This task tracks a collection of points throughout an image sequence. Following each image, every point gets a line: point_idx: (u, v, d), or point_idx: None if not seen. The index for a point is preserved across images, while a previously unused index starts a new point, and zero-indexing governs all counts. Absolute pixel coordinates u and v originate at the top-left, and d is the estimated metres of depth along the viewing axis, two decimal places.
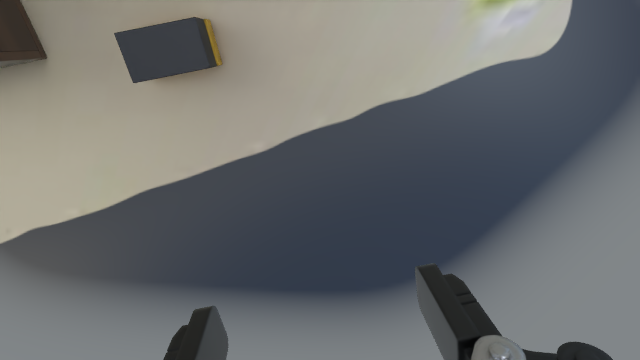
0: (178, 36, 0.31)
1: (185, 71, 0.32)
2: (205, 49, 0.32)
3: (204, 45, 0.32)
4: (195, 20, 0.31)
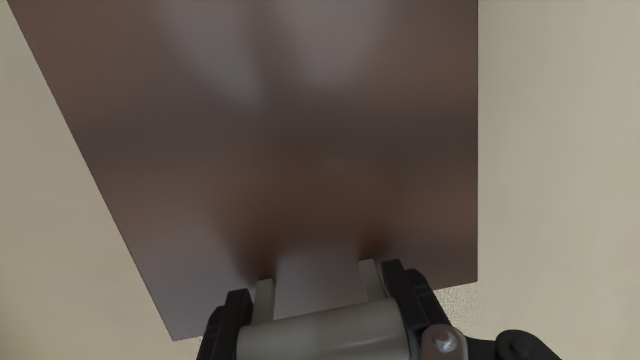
0: None
1: None
2: None
3: None
4: None
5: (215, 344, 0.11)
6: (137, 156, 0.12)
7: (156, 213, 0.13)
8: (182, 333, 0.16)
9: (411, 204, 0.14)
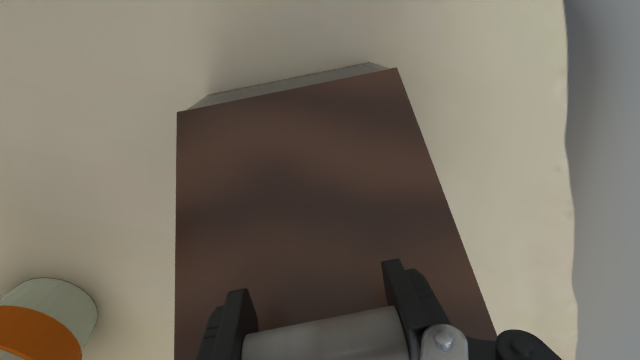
0: None
1: None
2: None
3: None
4: None
5: (215, 344, 0.11)
6: (209, 228, 0.18)
7: (207, 273, 0.17)
8: None
9: None
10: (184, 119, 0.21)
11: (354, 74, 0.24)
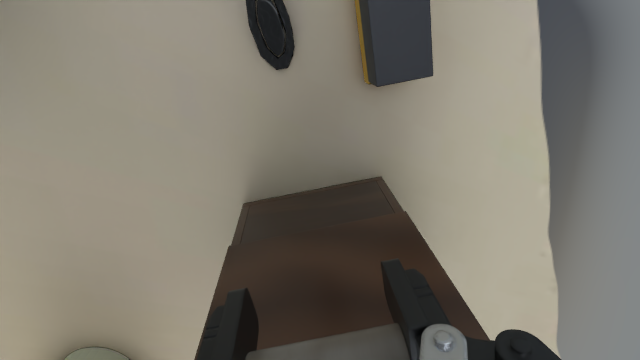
0: (386, 4, 0.24)
1: (428, 2, 0.24)
2: None
3: None
4: None
5: (215, 344, 0.11)
6: None
7: None
8: None
9: None
10: (233, 249, 0.26)
11: (370, 207, 0.29)
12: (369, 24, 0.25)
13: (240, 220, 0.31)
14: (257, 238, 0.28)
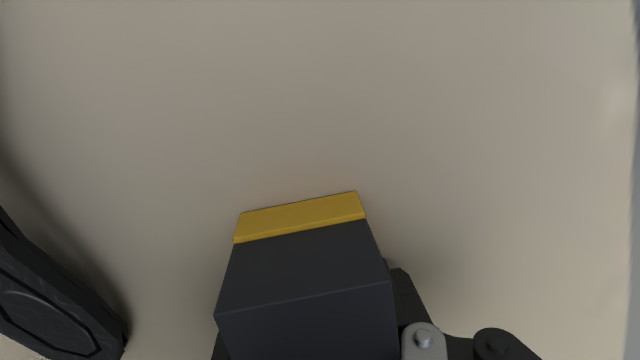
0: None
1: (396, 350, 0.09)
2: (323, 285, 0.09)
3: (309, 287, 0.09)
4: (224, 314, 0.08)
5: None
6: None
7: None
8: None
9: None
10: None
11: None
12: None
13: None
14: None
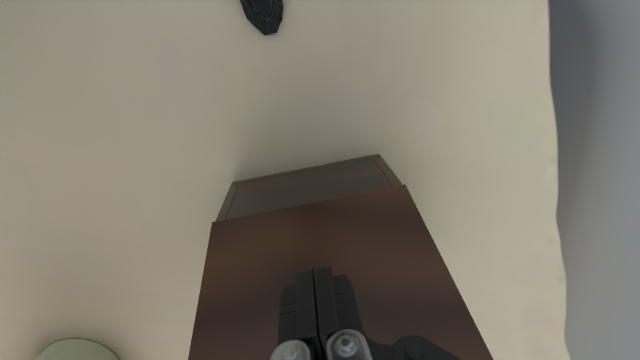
0: None
1: None
2: None
3: None
4: None
5: (297, 318, 0.11)
6: (226, 325, 0.18)
7: None
8: None
9: None
10: (217, 227, 0.24)
11: (367, 182, 0.27)
12: None
13: (227, 198, 0.29)
14: (244, 214, 0.26)
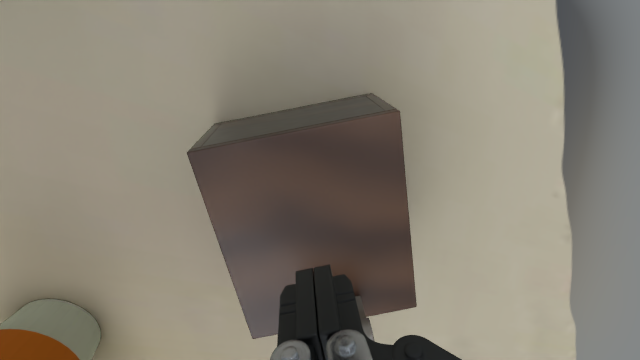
0: None
1: None
2: None
3: None
4: None
5: (297, 318, 0.11)
6: (247, 250, 0.26)
7: (252, 275, 0.27)
8: (258, 334, 0.29)
9: (379, 269, 0.27)
10: (197, 161, 0.23)
11: (357, 110, 0.25)
12: None
13: (207, 133, 0.27)
14: (222, 141, 0.24)
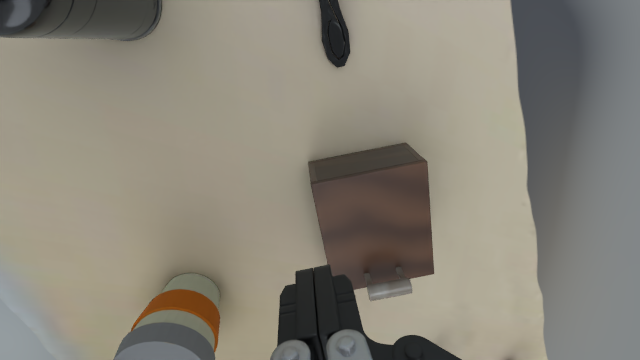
0: None
1: None
2: None
3: None
4: None
5: (297, 318, 0.11)
6: (337, 238, 0.45)
7: (338, 253, 0.45)
8: None
9: (412, 250, 0.46)
10: (316, 189, 0.42)
11: (401, 158, 0.44)
12: None
13: (310, 170, 0.46)
14: (327, 177, 0.42)
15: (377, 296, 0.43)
